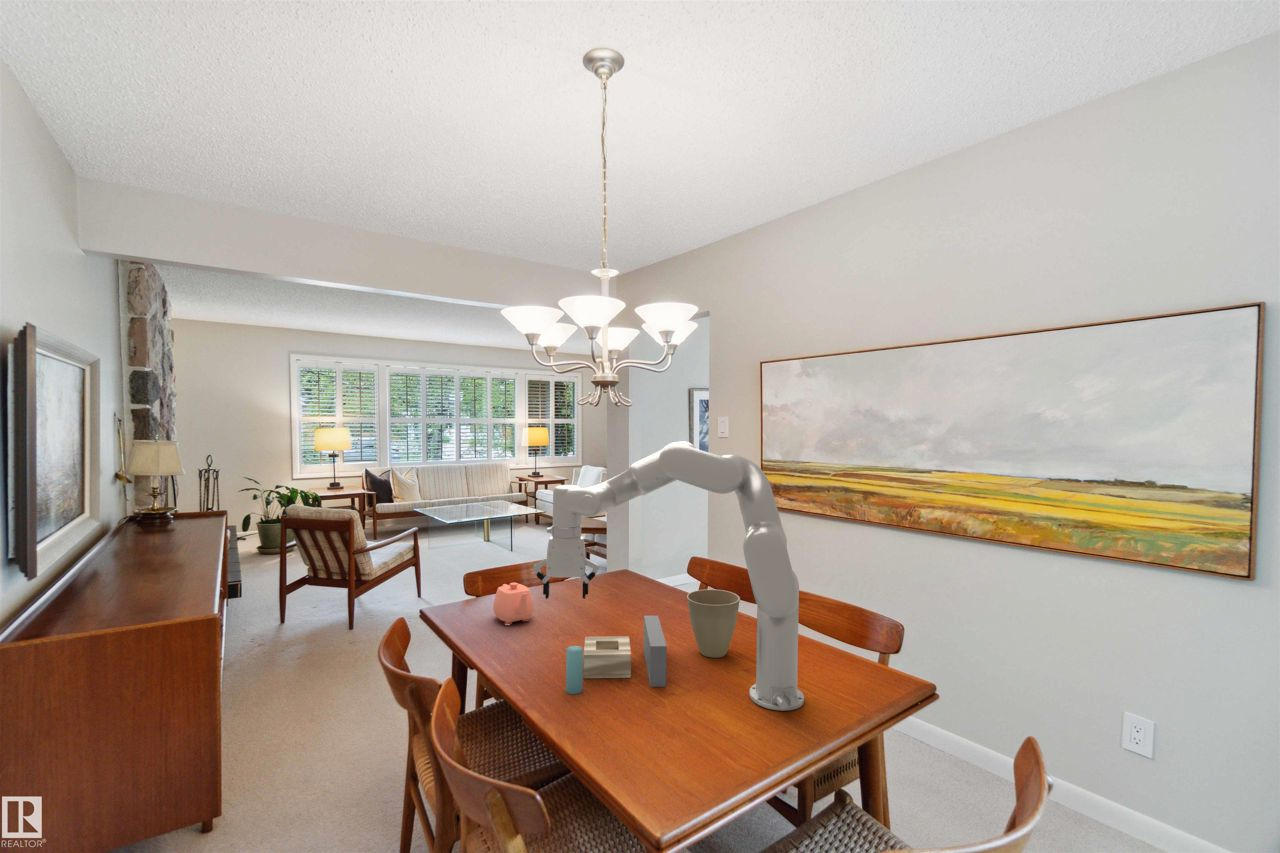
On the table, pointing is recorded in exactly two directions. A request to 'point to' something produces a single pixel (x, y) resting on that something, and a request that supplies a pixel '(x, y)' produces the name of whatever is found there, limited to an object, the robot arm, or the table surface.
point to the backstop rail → (655, 651)
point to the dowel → (574, 669)
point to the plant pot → (713, 619)
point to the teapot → (513, 603)
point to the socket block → (607, 657)
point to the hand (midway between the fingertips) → (565, 597)
